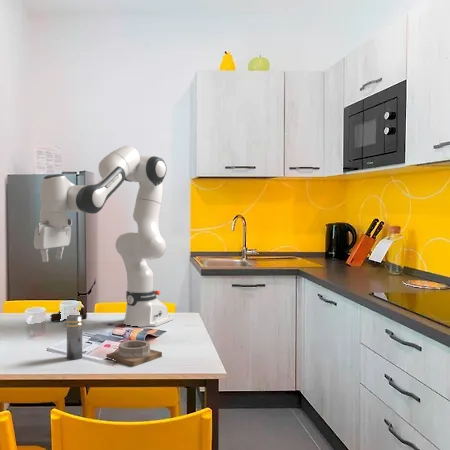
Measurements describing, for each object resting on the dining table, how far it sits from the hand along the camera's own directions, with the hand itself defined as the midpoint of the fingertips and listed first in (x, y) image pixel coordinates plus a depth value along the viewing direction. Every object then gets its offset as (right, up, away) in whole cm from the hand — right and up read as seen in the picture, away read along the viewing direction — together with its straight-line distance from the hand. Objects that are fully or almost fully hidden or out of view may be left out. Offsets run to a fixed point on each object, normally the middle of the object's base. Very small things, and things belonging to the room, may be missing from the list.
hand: (52, 260), depth 174 cm
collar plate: (+30, -32, -6) cm, 44 cm away
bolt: (-9, -30, +47) cm, 57 cm away
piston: (+10, -32, -6) cm, 34 cm away
